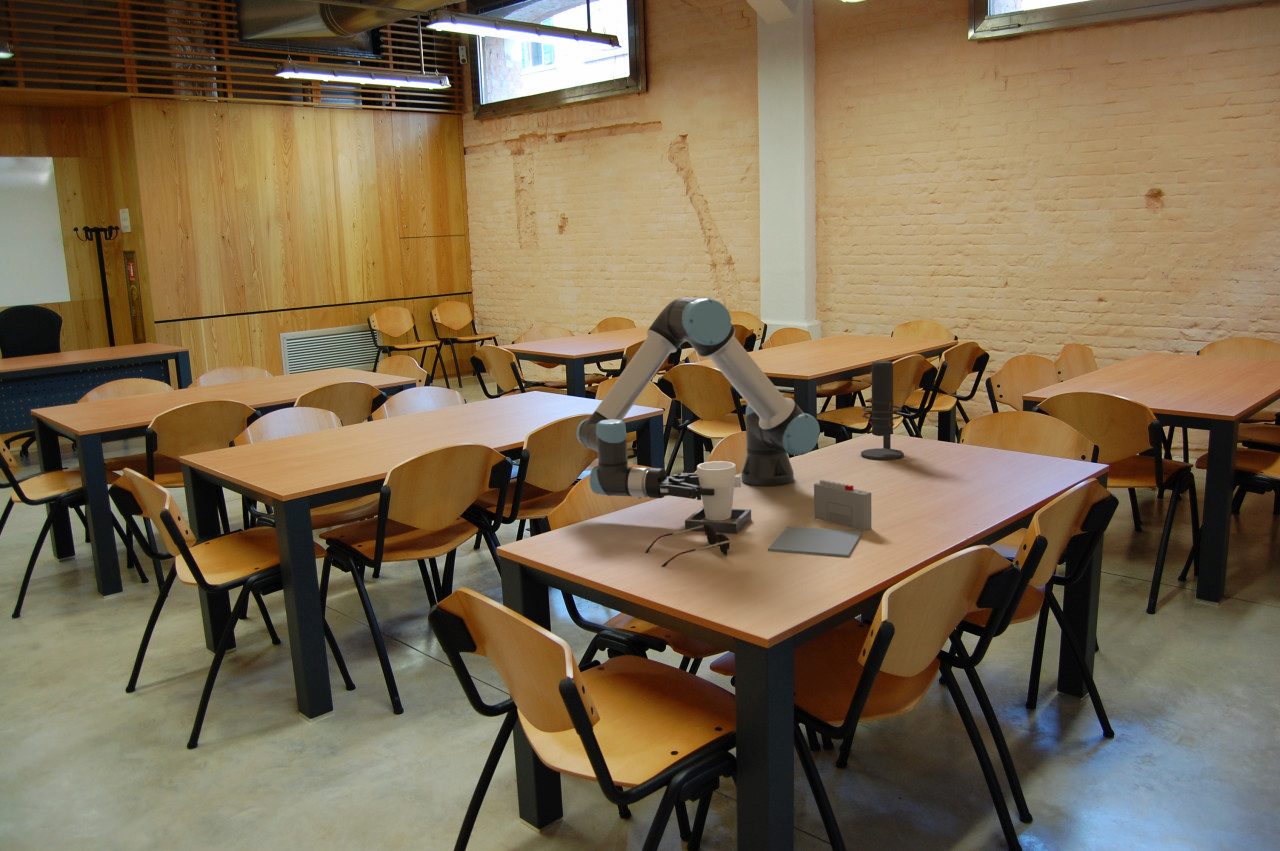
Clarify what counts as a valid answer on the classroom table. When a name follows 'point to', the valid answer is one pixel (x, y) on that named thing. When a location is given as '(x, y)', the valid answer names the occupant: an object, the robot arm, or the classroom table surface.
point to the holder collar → (719, 527)
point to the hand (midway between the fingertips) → (734, 486)
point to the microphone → (882, 411)
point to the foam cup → (717, 476)
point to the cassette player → (842, 505)
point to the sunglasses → (711, 537)
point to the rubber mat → (816, 541)
